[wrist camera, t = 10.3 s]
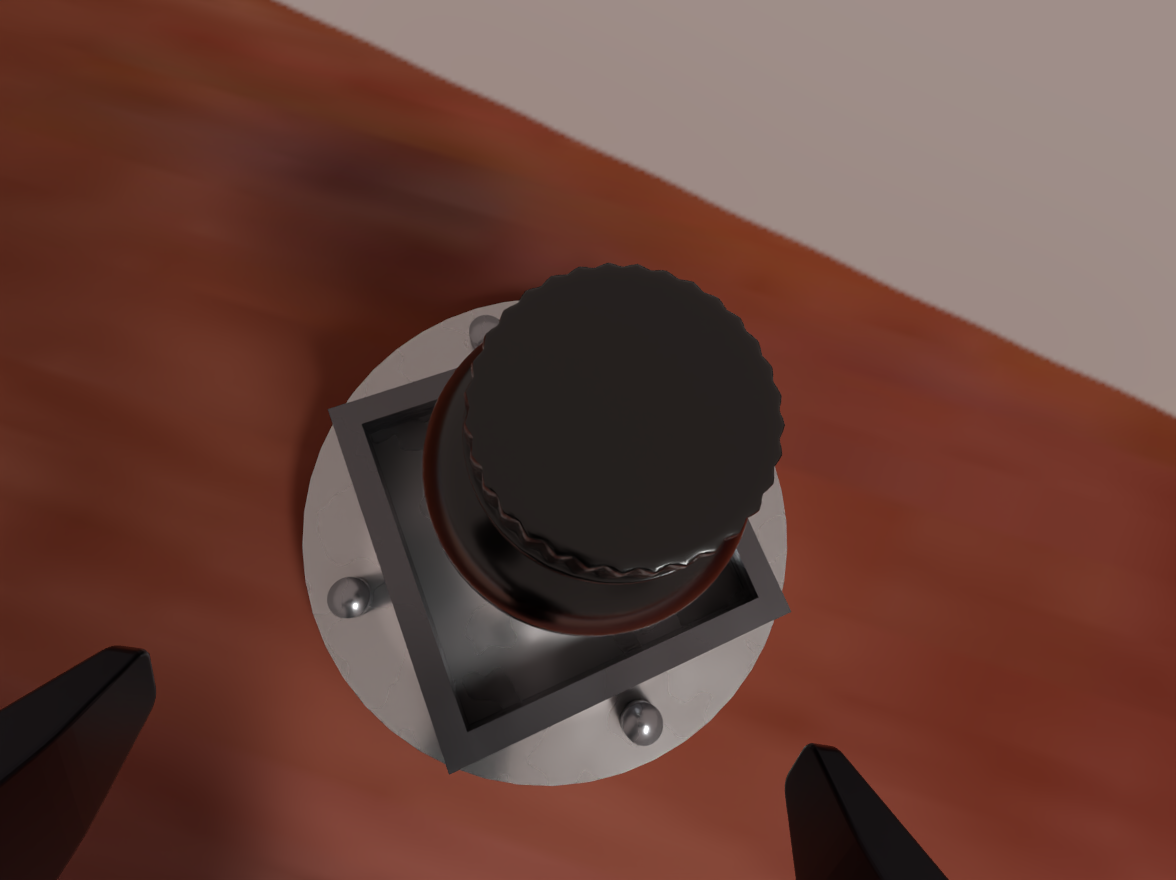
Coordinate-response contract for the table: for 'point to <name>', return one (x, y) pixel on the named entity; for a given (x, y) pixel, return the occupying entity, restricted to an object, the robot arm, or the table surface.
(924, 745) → the table surface
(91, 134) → the table surface
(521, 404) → the supplement bottle
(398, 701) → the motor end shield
